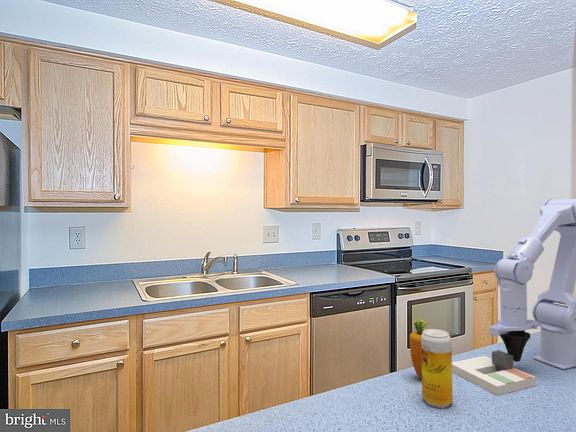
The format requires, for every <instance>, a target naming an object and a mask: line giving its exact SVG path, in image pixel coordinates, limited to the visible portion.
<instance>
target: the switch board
mask: <svg viewBox="0 0 576 432" xmlns="http://www.w3.org/2000/svg"><path fill="white" fill-rule="evenodd" d="M453 373H454V374H455V375H458V376H459V377H460V378H463V379H465V380H466V381H469V382H471V383H473V384H475V385H476V386H479V387H480V388H482V389H484V390H486V391H488V392H490V393H492V394H494V395H496V396H501V395H505V394H508V393H512V392H516V391H519V390H524V389H528V388H531V387H536V385H537V383H536V376H534V375H531V374H529V373H526V372H525V371H523V370H519V369H517V368H515V367H513V368H511V369H507V370H502V371H498V372H497V365H494V364H492V357H489V356H486V355H482V356H476V357H471V358H467V359H463V360H457V361H453V362H452V374H453Z"/></svg>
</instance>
